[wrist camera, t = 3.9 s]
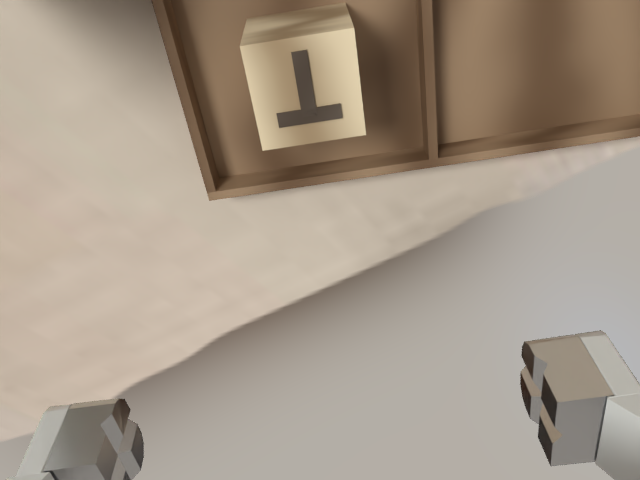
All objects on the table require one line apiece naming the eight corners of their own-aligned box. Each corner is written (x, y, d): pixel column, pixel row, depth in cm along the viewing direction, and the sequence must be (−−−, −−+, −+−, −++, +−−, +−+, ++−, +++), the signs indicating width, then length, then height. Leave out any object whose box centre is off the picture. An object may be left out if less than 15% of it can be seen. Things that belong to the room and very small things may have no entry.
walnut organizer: (691, -150, 27) (720, -150, 25) (646, 116, 34) (666, 132, 32) (146, -57, 28) (136, -51, 26) (213, 182, 35) (209, 200, 33)
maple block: (345, 2, 29) (354, 28, 25) (356, 98, 32) (366, 135, 28) (246, 18, 30) (239, 46, 25) (266, 112, 32) (262, 151, 28)
